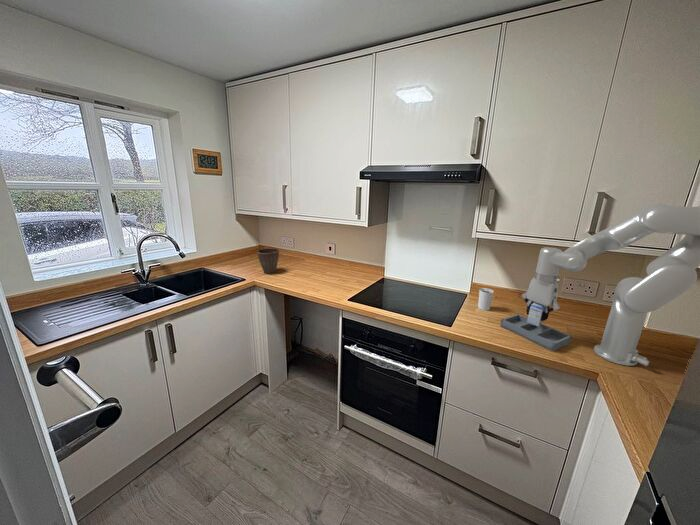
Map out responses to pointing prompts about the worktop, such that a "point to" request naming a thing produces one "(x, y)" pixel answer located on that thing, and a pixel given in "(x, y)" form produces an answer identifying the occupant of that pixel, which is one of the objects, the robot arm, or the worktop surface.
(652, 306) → the robot arm
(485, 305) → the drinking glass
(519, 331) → the organizer tray
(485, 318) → the worktop surface
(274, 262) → the plant pot
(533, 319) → the medicine box
